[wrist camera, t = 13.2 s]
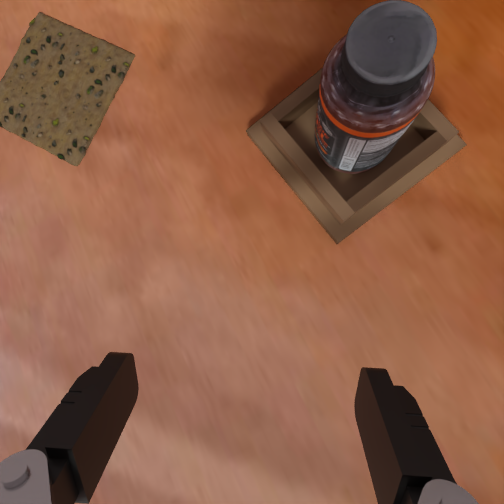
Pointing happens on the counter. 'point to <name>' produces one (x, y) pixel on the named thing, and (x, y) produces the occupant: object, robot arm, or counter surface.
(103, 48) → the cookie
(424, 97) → the supplement bottle
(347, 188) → the walnut tray
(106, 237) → the counter surface
